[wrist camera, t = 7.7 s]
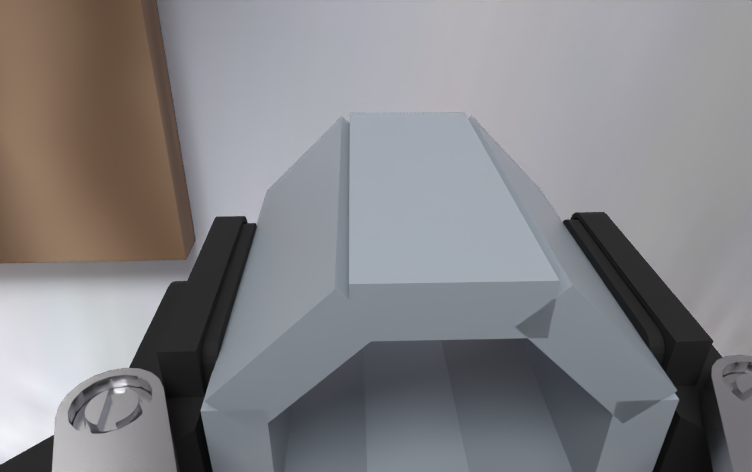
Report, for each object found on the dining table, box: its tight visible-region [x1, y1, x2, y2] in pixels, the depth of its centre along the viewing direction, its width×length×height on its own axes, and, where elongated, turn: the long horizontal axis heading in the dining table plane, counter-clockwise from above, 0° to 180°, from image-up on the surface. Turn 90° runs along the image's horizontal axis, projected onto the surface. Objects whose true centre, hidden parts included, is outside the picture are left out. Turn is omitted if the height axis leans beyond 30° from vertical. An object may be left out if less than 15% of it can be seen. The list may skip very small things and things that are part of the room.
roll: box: [201, 112, 679, 472], centre depth 10 cm, size 6×6×6 cm
